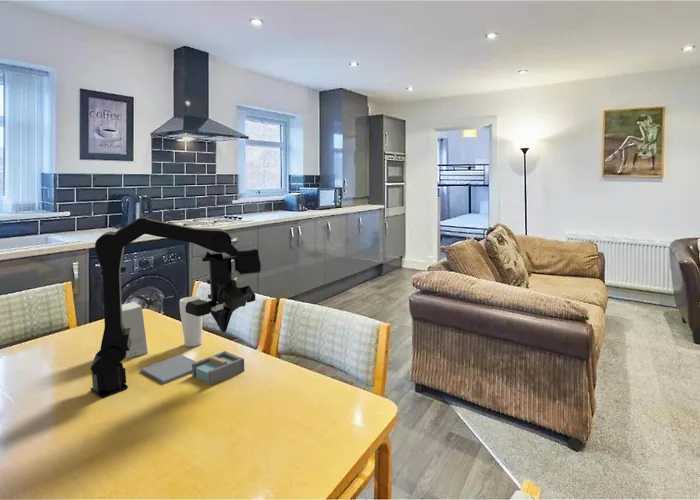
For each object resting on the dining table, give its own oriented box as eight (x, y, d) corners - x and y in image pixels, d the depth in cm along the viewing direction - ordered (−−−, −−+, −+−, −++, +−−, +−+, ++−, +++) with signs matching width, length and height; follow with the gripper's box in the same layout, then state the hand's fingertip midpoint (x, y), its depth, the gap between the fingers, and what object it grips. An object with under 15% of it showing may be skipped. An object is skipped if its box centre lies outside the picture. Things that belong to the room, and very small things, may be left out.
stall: (211, 385, 110) (210, 372, 109) (192, 375, 115) (191, 363, 115) (244, 370, 118) (243, 358, 118) (225, 362, 124) (224, 351, 123)
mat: (163, 383, 111) (163, 381, 111) (141, 371, 118) (140, 368, 118) (204, 367, 120) (204, 365, 120) (180, 357, 127) (180, 354, 127)
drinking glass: (190, 350, 132) (187, 303, 130) (178, 345, 136) (174, 299, 134) (209, 343, 138) (206, 298, 135) (196, 338, 142) (194, 295, 139)
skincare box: (148, 353, 130) (144, 306, 127) (126, 359, 126) (122, 310, 123) (138, 345, 136) (134, 300, 133) (118, 351, 132) (113, 304, 129)
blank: (210, 384, 111) (209, 368, 110) (196, 378, 115) (195, 362, 114) (237, 371, 118) (236, 356, 118) (223, 366, 122) (222, 351, 121)
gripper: (208, 287, 102) (211, 349, 105) (267, 274, 117) (269, 328, 119) (182, 280, 109) (186, 339, 111) (241, 269, 123) (243, 320, 126)
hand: (223, 331), depth 117 cm, fingers closed
